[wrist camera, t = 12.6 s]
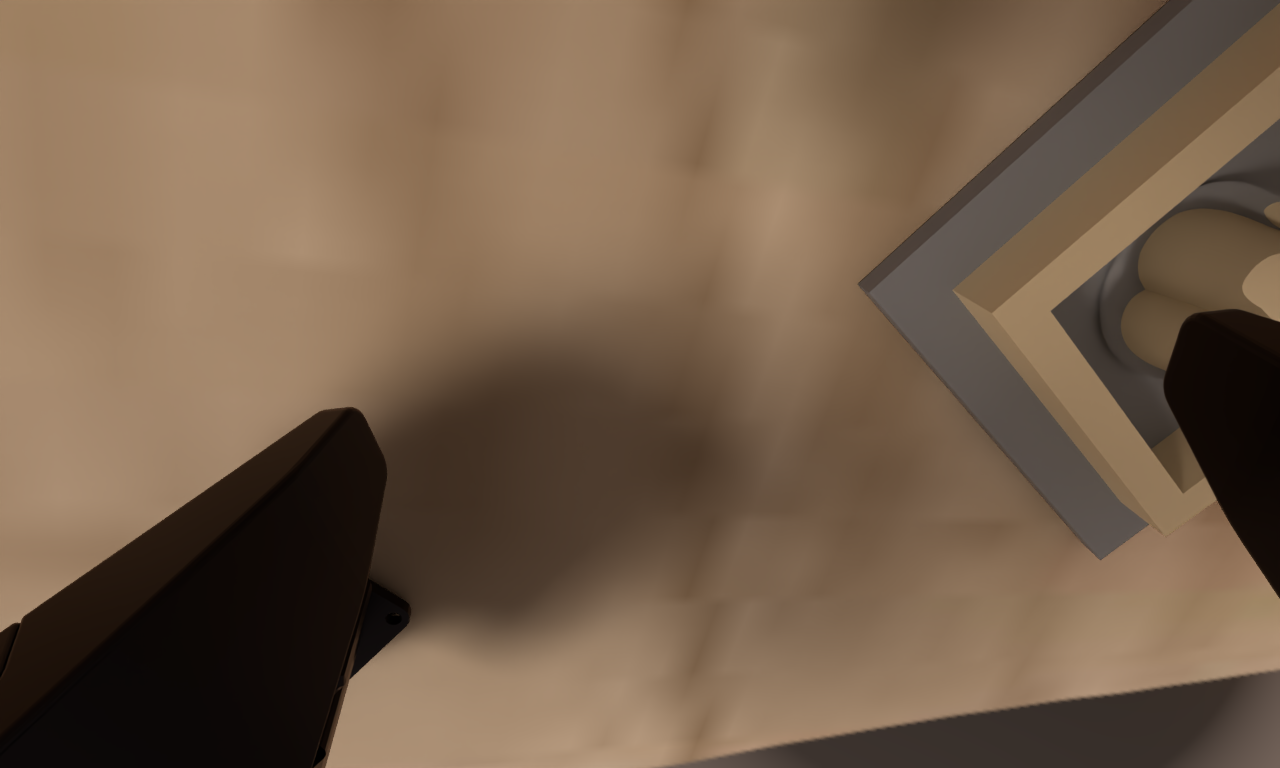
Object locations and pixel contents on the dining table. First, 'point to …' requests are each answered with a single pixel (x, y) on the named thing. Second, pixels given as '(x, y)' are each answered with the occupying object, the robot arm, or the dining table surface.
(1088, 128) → the socket board
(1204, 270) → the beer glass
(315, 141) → the dining table surface
